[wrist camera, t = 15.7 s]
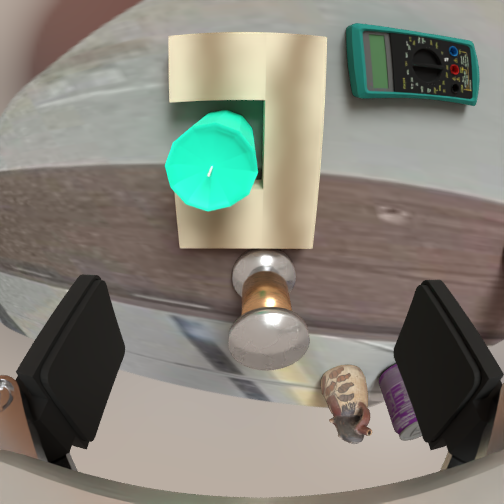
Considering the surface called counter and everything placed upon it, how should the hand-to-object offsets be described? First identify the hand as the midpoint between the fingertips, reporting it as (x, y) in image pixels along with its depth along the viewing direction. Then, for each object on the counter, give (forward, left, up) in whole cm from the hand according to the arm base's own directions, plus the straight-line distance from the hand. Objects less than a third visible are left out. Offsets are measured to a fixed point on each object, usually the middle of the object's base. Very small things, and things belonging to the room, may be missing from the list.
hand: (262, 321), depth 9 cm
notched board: (0, -1, -24) cm, 24 cm away
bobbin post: (-2, +14, -24) cm, 27 cm away
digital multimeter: (-16, -10, -24) cm, 31 cm away
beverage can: (-25, +34, -24) cm, 48 cm away
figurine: (-15, +34, -24) cm, 44 cm away
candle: (+3, -1, -24) cm, 24 cm away
